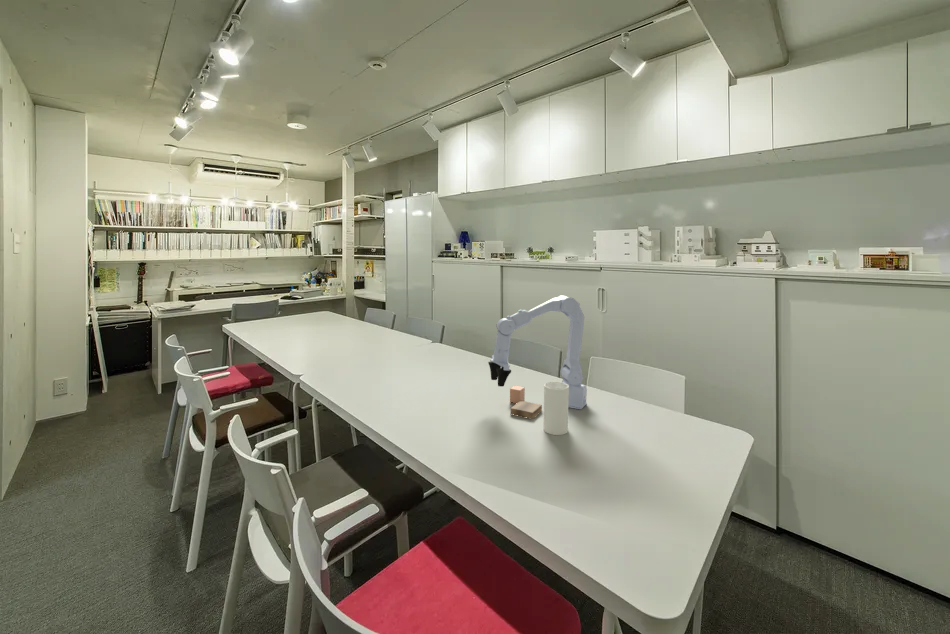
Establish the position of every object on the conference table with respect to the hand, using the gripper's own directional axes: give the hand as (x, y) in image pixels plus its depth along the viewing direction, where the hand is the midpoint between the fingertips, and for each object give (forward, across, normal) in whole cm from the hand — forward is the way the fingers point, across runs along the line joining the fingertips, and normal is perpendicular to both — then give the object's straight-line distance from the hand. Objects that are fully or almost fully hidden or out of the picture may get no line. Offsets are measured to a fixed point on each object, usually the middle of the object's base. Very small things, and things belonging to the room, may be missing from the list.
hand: (497, 382), depth 158 cm
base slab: (+9, +8, +10) cm, 16 cm away
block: (+9, -4, +12) cm, 15 cm away
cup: (+8, +26, +13) cm, 30 cm away
